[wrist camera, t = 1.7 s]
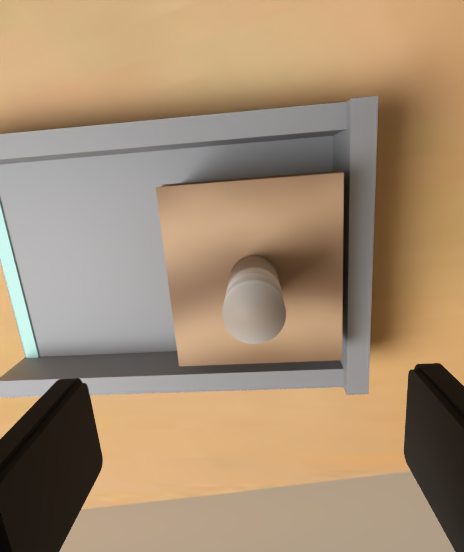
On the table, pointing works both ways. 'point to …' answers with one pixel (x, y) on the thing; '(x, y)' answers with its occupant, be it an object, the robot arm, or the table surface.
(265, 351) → the knobbed wooden box
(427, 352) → the table surface
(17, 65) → the table surface
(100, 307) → the bay
